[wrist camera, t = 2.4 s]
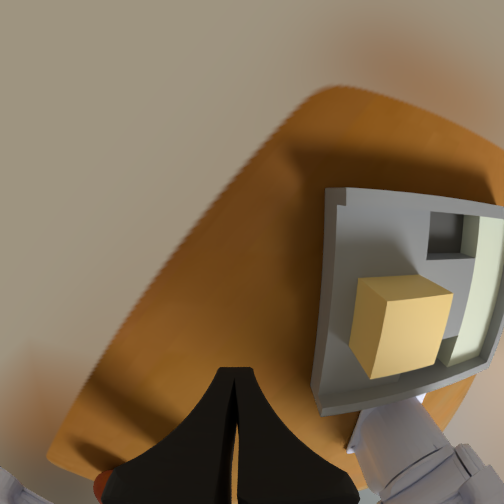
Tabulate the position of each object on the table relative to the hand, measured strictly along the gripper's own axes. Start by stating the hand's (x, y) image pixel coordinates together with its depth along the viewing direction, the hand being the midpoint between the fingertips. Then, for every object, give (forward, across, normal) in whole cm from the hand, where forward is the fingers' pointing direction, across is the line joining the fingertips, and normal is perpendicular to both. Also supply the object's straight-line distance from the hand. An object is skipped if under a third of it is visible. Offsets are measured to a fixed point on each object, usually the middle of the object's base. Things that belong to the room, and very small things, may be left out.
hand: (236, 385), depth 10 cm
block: (+6, -10, 0) cm, 12 cm away
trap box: (+9, -16, 0) cm, 18 cm away
